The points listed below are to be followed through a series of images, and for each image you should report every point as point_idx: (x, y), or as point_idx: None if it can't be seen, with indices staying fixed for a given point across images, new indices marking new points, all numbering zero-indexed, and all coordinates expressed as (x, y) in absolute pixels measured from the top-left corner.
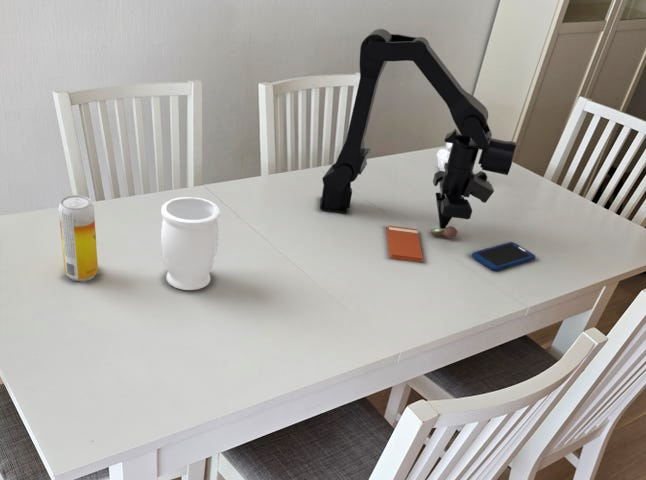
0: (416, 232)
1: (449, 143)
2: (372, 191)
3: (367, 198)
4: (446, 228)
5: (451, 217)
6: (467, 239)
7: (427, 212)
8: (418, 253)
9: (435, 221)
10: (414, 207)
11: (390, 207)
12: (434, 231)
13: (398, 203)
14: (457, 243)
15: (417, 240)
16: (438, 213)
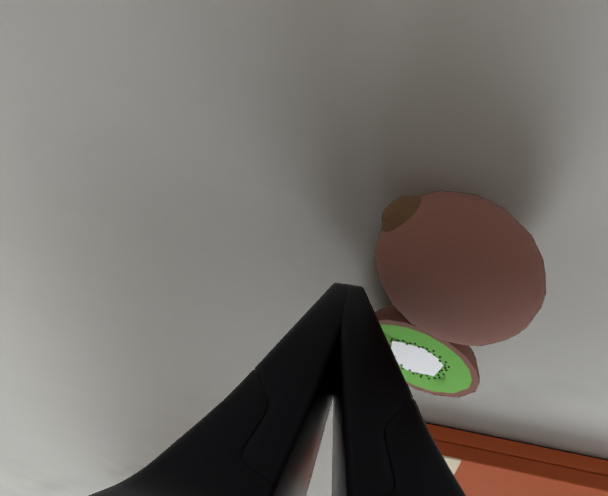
0: (452, 465)
1: None
2: (11, 436)
3: (90, 467)
4: (461, 342)
5: (417, 417)
6: (498, 10)
7: (56, 278)
8: None
9: (169, 262)
10: (40, 331)
11: (120, 426)
12: (445, 384)
13: (51, 386)
14: (596, 175)
15: (576, 492)
16: (310, 474)
